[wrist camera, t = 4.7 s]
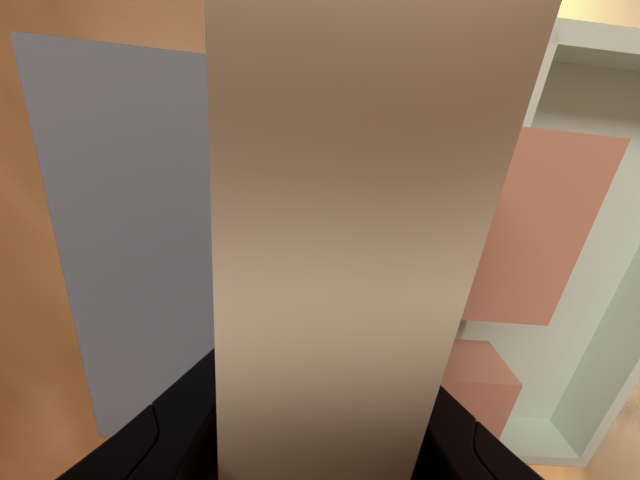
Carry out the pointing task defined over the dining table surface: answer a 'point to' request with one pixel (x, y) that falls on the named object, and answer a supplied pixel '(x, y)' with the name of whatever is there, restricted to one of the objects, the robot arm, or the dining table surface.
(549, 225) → the tile near
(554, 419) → the tray
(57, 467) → the dining table surface
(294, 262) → the strip
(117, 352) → the board
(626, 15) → the dining table surface
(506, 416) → the tile far
